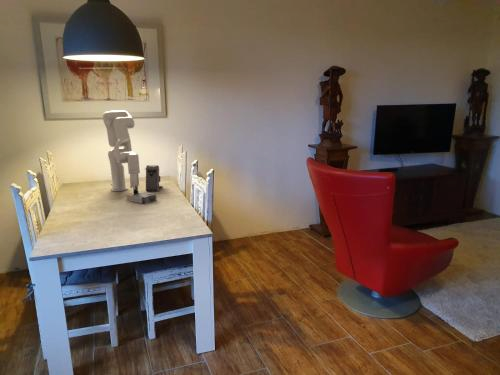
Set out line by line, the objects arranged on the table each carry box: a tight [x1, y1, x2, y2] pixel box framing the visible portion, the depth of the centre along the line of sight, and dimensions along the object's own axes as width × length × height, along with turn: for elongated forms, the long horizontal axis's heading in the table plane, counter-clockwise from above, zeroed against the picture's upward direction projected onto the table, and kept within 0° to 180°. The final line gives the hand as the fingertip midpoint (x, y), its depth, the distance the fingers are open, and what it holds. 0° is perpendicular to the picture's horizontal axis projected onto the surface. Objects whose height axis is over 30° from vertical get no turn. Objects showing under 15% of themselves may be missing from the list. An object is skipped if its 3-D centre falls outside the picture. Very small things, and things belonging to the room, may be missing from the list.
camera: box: [145, 164, 163, 193], centre depth 290 cm, size 11×17×20 cm, turn 174°
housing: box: [133, 191, 157, 205], centre depth 259 cm, size 13×10×5 cm
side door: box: [126, 193, 145, 205], centre depth 257 cm, size 18×1×5 cm, turn 54°
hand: (136, 196), depth 266 cm, fingers closed
